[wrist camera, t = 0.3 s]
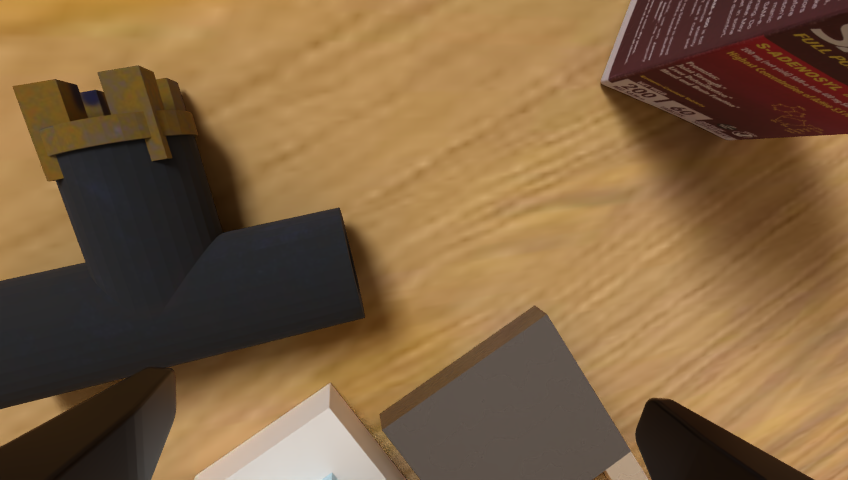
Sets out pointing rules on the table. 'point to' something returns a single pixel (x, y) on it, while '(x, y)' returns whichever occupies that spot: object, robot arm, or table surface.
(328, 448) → the stand
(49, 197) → the table surface
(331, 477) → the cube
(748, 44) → the supplement box
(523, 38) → the table surface
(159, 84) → the pipe connector
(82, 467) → the robot arm
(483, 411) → the plate
